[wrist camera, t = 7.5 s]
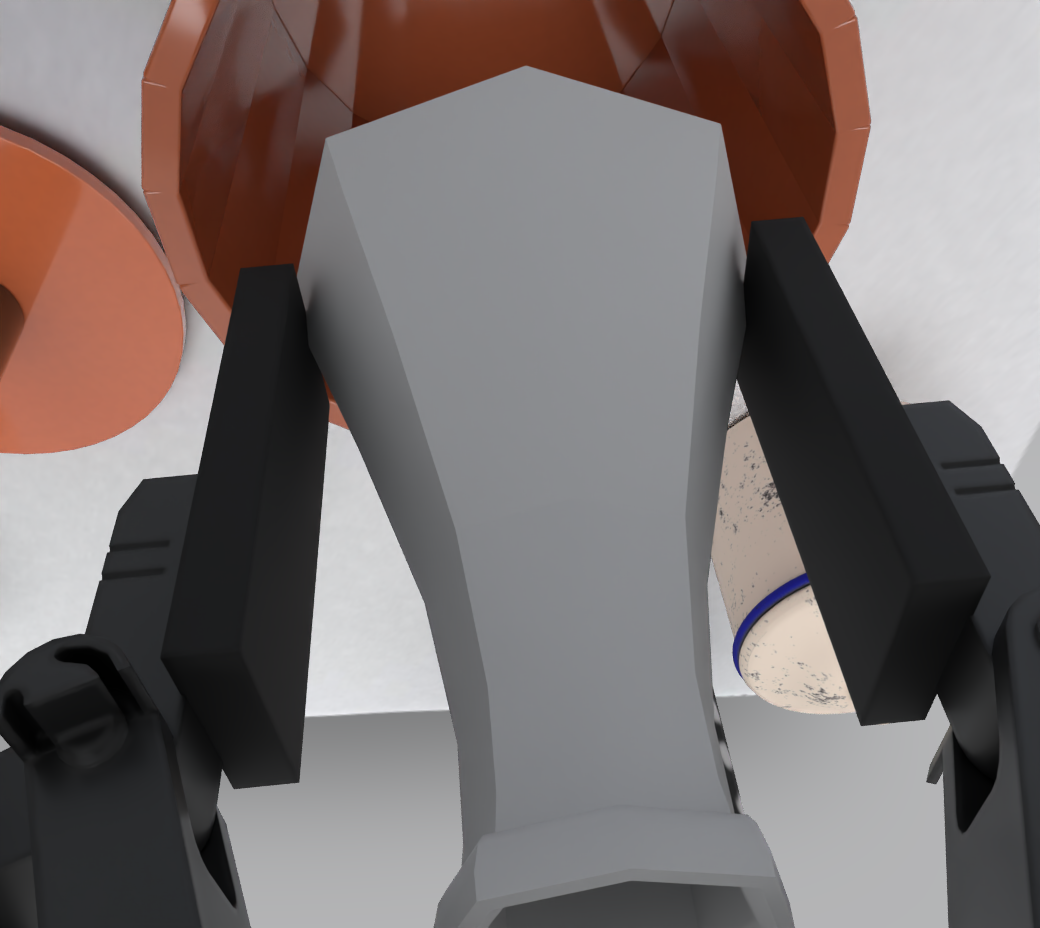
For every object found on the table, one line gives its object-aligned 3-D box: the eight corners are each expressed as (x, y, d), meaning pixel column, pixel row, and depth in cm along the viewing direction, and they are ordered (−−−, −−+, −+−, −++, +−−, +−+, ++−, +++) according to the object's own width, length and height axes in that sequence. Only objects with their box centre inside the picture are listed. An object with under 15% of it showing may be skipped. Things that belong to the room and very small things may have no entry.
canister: (176, -325, 22) (9, -168, 13) (726, -370, 22) (951, -247, 13) (295, 177, 30) (248, 483, 21) (688, 142, 31) (807, 430, 22)
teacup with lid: (845, 545, 46) (940, 780, 38) (659, 530, 44) (716, 774, 36) (983, 342, 38) (1142, 587, 29) (761, 312, 36) (866, 565, 28)
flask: (715, 436, 18) (904, 1032, 11) (324, 457, 18) (272, 1090, 11) (792, 47, 13) (1221, 697, 6) (247, 64, 13) (57, 783, 6)
